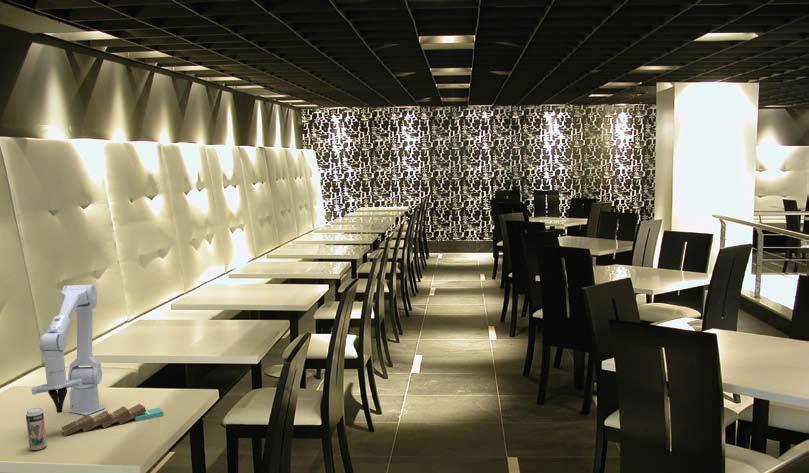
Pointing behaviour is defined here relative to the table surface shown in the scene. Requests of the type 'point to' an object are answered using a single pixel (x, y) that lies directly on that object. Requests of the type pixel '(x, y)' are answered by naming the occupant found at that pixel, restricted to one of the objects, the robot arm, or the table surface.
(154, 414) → the domino
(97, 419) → the domino
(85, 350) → the robot arm
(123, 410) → the domino
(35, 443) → the beer can
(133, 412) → the domino
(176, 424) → the table surface
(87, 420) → the domino
